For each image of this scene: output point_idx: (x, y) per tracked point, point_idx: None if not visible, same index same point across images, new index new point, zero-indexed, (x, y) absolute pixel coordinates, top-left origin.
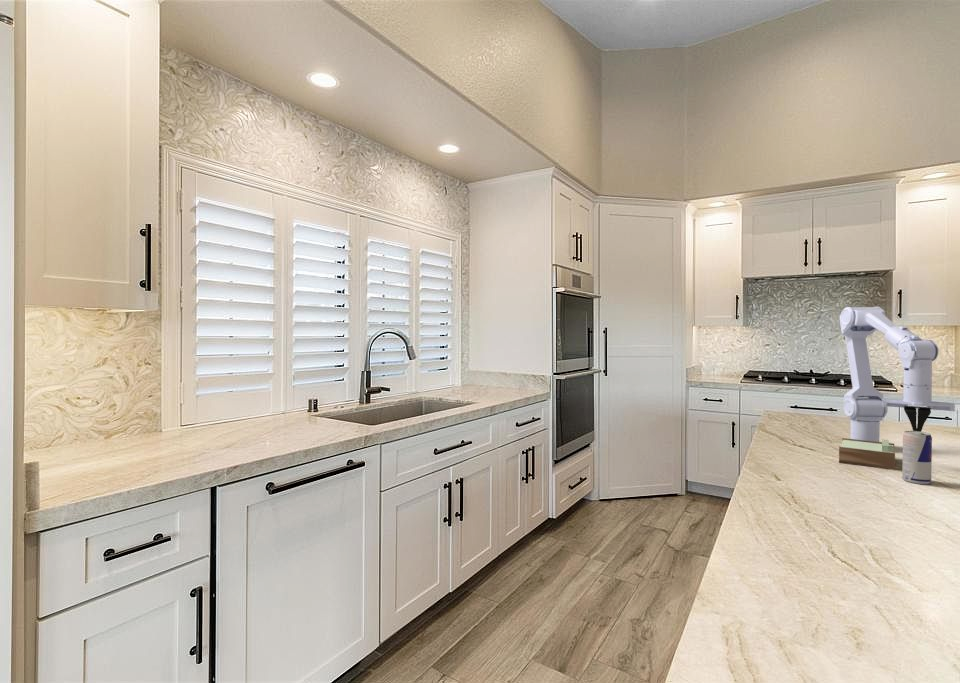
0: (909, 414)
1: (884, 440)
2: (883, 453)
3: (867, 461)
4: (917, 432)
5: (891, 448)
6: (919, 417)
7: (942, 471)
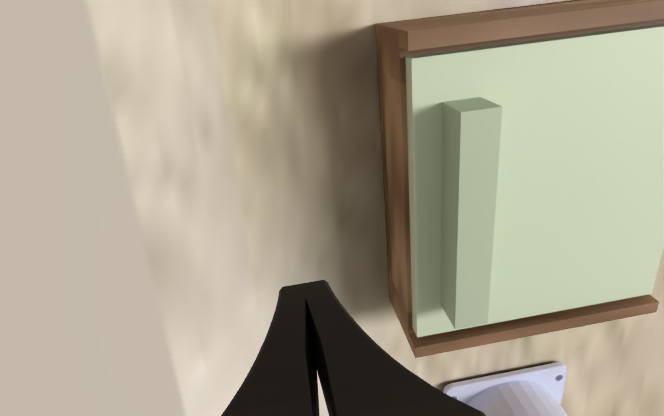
0: (427, 405)
1: (477, 299)
2: (473, 22)
3: (525, 9)
4: None
5: (426, 236)
6: (299, 412)
7: (172, 190)
